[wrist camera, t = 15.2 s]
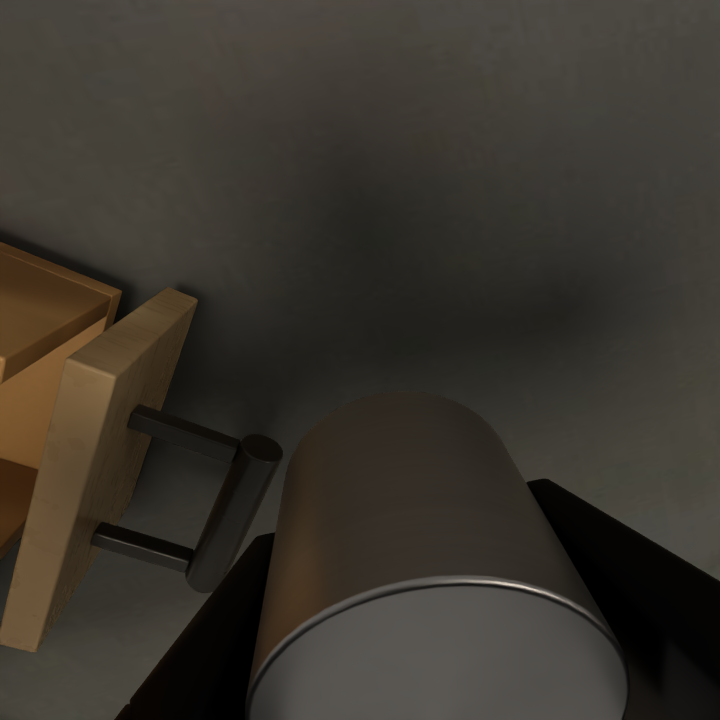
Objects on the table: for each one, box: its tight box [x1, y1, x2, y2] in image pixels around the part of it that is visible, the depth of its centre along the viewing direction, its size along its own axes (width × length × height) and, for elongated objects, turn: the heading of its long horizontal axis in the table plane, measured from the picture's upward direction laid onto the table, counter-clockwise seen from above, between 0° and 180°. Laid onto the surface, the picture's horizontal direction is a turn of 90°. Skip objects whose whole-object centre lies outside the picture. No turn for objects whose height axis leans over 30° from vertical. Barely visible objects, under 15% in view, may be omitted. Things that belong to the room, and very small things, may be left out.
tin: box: [245, 391, 630, 720], centre depth 8 cm, size 5×5×4 cm
